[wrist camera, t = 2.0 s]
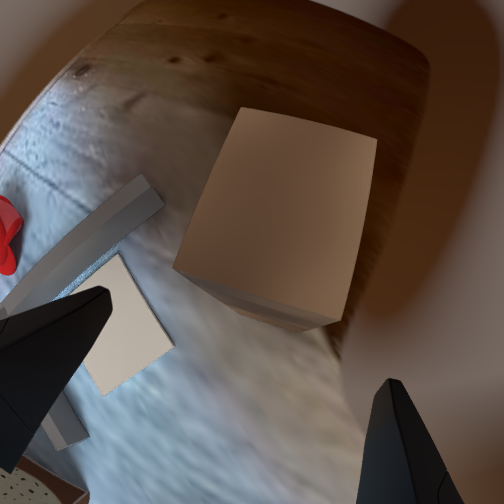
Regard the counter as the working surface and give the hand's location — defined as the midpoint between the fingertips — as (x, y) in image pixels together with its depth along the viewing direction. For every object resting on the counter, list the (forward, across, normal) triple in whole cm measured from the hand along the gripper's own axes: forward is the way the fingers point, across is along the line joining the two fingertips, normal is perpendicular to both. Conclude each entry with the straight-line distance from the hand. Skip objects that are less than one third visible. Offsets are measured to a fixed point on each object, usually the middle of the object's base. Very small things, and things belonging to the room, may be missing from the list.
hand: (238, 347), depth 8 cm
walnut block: (+10, 0, +5) cm, 11 cm away
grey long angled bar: (+6, +10, +10) cm, 15 cm away
